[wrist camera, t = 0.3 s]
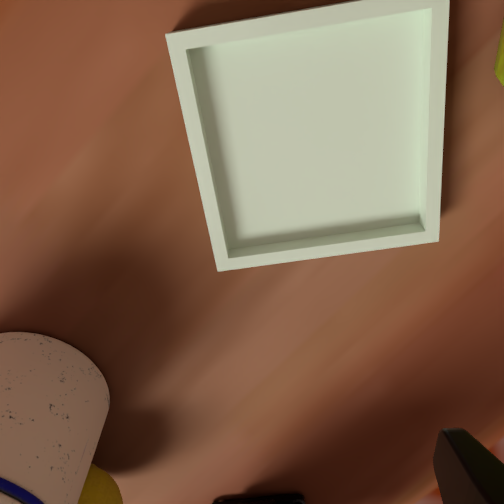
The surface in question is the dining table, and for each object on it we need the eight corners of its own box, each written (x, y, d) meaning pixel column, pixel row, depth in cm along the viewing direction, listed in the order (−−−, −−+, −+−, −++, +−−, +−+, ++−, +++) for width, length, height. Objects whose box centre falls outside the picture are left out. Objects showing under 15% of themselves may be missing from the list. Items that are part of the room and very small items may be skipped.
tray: (427, 226, 22) (438, 241, 21) (219, 255, 23) (217, 271, 21) (434, -14, 17) (450, -15, 16) (171, 31, 18) (165, 34, 17)
